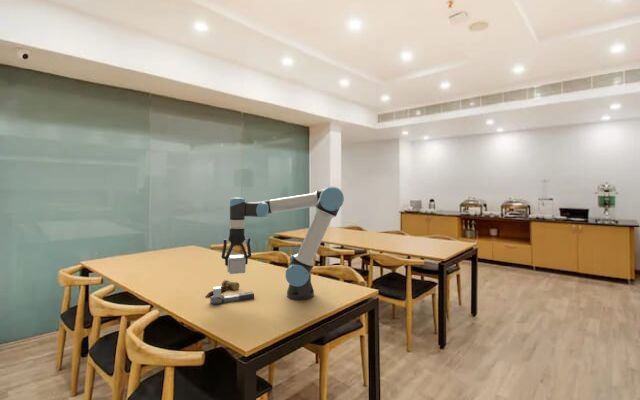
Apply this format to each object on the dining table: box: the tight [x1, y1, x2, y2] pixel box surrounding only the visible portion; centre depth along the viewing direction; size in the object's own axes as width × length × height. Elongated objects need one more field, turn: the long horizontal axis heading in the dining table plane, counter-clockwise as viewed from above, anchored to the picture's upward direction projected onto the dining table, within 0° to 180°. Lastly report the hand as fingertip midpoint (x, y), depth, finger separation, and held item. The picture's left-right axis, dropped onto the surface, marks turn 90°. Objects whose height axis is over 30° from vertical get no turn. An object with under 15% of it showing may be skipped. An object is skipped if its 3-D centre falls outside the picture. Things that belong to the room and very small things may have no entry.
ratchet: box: [209, 285, 255, 306], centre depth 172 cm, size 22×7×8 cm, turn 114°
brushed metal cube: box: [228, 253, 246, 275], centre depth 168 cm, size 8×8×8 cm
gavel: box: [204, 279, 240, 298], centre depth 185 cm, size 21×5×10 cm
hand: (236, 271), depth 168 cm, fingers closed on brushed metal cube, 7 cm apart
